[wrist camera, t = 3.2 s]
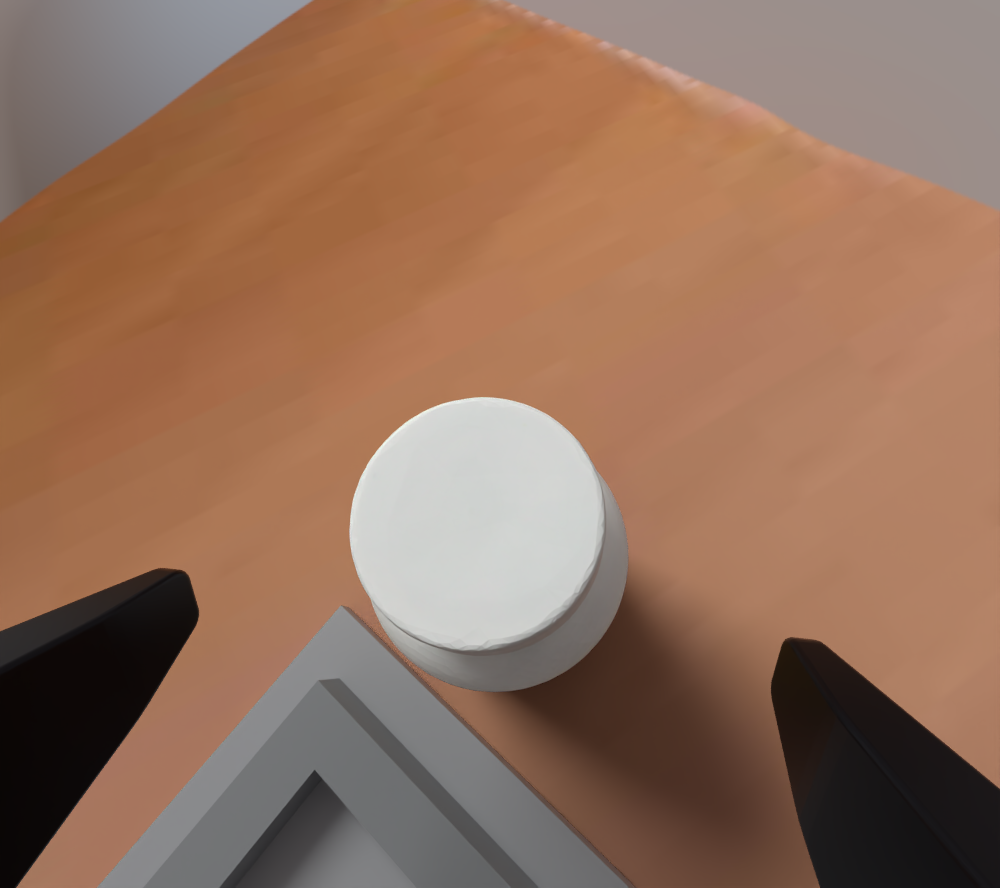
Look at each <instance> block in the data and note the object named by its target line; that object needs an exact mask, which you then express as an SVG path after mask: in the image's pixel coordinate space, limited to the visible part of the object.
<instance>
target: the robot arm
mask: <svg viewBox="0 0 1000 888" xmlns="http://www.w3.org/2000/svg"><path fill="white" fill-rule="evenodd" d="M198 618H199V608H198V605H197V601H196V598H195V595H194V591H193V588H192V584H191V581H190V578H189V576H188V574H187V573H186V572H184V571H182V570H177V569H168V568H158V569H155V570H152V571H149V572H147V573H144V574H142V575H139V576H137V577H135V578H132V579H130V580H127V581H125V582H122V583H120V584H117V585H115V586H112V587H110V588H107V589H105V590H102V591H100V592H97V593H95V594H92V595H90V596H87V597H85V598H82V599H80V600H77V601H75V602H72V603H70V604H67V605H65V606H62V607H60V608H57V609H55V610H52V611H50V612H47V613H45V614H42V615H40V616H37V617H35V618H32V619H30V620H28V621H25V622H23V623H20V624H18V625H15V626H13V627H10V628H8V629H5V630H3V631H0V888H16V887H17V886H18V884H19V883H20V882H21V880H22V879H23V877H24V876H25V875H26V873H27V872H28V871H29V869H30V868H31V867H32V865H33V864H34V862H35V861H36V860H37V858H38V857H39V856H40V854H41V853H42V851H43V850H44V849H45V847H46V846H47V845H48V843H49V842H50V840H51V839H52V838H53V836H54V835H55V834H56V832H57V831H58V829H59V828H60V827H61V825H62V824H63V823H64V821H65V820H66V818H67V817H68V816H69V814H70V813H71V812H72V810H73V809H74V807H75V806H76V805H77V803H78V802H79V801H80V799H81V798H82V797H83V795H84V794H85V792H86V791H87V790H88V788H89V787H90V786H91V784H92V783H93V781H94V780H95V779H96V777H97V776H98V775H99V773H100V772H101V770H102V769H103V768H104V766H105V765H106V764H107V762H108V761H109V759H110V758H111V757H112V755H113V754H114V753H115V751H116V750H117V748H118V747H119V746H120V744H121V743H122V742H123V740H124V739H125V738H126V736H127V735H128V733H129V732H130V731H131V729H132V728H133V726H134V725H135V723H136V722H137V721H138V719H139V718H140V716H141V715H142V713H143V712H144V710H145V708H146V707H147V705H148V704H149V702H150V701H151V699H152V697H153V696H154V694H155V692H156V691H157V689H158V687H159V686H160V684H161V682H162V681H163V679H164V678H165V676H166V674H167V673H168V671H169V669H170V668H171V666H172V664H173V663H174V661H175V659H176V658H177V656H178V655H179V653H180V651H181V650H182V648H183V646H184V645H185V643H186V641H187V640H188V638H189V636H190V635H191V633H192V631H193V630H194V628H195V626H196V624H197V621H198ZM771 696H772V702H773V707H774V711H775V716H776V720H777V725H778V730H779V734H780V739H781V743H782V748H783V752H784V757H785V762H786V766H787V771H788V775H789V780H790V785H791V789H792V794H793V798H794V802H795V807H796V811H797V815H798V819H799V822H800V826H801V829H802V832H803V836H804V839H805V842H806V845H807V849H808V852H809V855H810V858H811V861H812V864H813V867H814V870H815V873H816V876H817V879H818V882H819V885H820V888H1000V789H999V788H998V787H997V786H996V785H994V784H993V783H992V782H991V781H990V780H988V779H987V778H986V777H985V776H984V775H982V774H981V773H980V772H979V771H977V770H976V769H975V768H974V767H973V766H971V765H970V764H969V763H968V762H967V761H965V760H964V759H963V758H962V757H961V756H959V755H958V754H957V753H956V752H954V751H953V750H952V749H951V748H950V747H948V746H947V745H946V744H945V743H944V742H942V741H941V740H940V739H939V738H937V737H936V736H935V735H934V734H933V733H931V732H930V731H929V730H928V729H927V728H925V727H924V726H923V725H922V724H921V723H919V722H918V721H917V720H916V719H914V718H913V717H912V716H911V715H910V714H908V713H907V712H906V711H905V710H904V709H902V708H901V707H900V706H899V705H897V704H896V703H895V702H894V701H893V700H891V699H890V698H889V697H888V696H887V695H885V694H884V693H883V692H882V691H881V690H879V689H878V688H877V687H876V686H874V685H873V684H872V683H871V682H870V681H868V680H867V679H866V678H865V677H864V676H862V675H861V674H860V673H859V672H857V671H856V670H855V669H854V668H853V667H851V666H850V665H849V664H848V663H847V662H845V661H844V660H843V659H842V658H841V657H839V656H838V655H837V654H836V653H834V652H833V651H832V650H831V649H830V648H828V647H827V646H826V645H825V644H823V643H822V642H820V641H817V640H812V639H803V638H794V637H790V638H787V639H785V641H784V642H783V644H782V646H781V650H780V653H779V657H778V660H777V664H776V667H775V671H774V674H773V678H772V682H771Z"/></svg>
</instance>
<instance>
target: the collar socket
mask: <svg viewBox="0 0 1000 888" xmlns="http://www.w3.org/2000/svg"><path fill="white" fill-rule="evenodd" d="M97 888H636V887H635V886H634V885H633V884H632V883H631V882H630V881H629V880H628V879H627V878H626V877H625V876H624V875H622V874H621V873H620V872H619V871H618V870H617V869H616V868H615V867H614V866H613V865H612V864H611V863H610V862H609V861H608V860H607V859H606V858H605V857H604V856H603V855H602V854H601V853H600V852H599V851H598V850H597V849H596V848H595V847H594V846H593V845H592V844H591V843H590V842H589V841H588V840H587V839H586V838H585V837H584V836H583V835H581V834H580V833H579V832H578V831H577V830H576V829H575V828H574V827H573V826H572V825H571V824H570V823H569V822H568V821H567V820H566V819H565V818H564V817H563V816H562V815H561V814H560V813H559V812H558V811H557V810H556V809H555V808H554V807H553V806H552V805H551V804H550V803H549V802H548V801H547V800H546V799H545V798H544V797H543V796H541V795H540V794H539V793H538V792H537V791H536V790H535V789H534V788H533V787H532V786H531V785H530V784H529V783H528V782H527V781H526V780H525V779H524V778H523V777H522V776H521V775H520V774H519V773H518V772H517V771H516V770H515V769H514V768H513V767H512V766H511V765H510V764H509V763H508V762H507V761H506V760H505V759H504V758H503V757H501V756H500V755H499V754H498V753H497V752H496V751H495V750H494V749H493V748H492V747H491V746H490V745H489V744H488V743H487V742H486V741H485V740H484V739H483V738H482V737H481V736H480V735H479V734H478V733H477V732H476V731H475V730H474V729H473V728H472V727H471V726H470V725H469V724H468V723H467V722H466V721H465V720H464V719H463V718H462V717H460V716H459V715H458V714H457V713H456V712H455V711H454V710H453V709H452V708H451V707H450V706H449V705H448V704H447V703H446V702H445V701H444V700H443V699H442V698H441V697H440V696H439V695H438V694H437V693H436V692H435V691H434V690H433V689H432V688H431V687H430V686H429V685H428V684H427V683H426V682H425V681H424V680H423V679H422V678H420V677H419V676H418V675H417V674H416V673H415V672H414V671H413V670H412V669H411V668H410V667H409V666H408V665H407V664H406V663H405V662H404V661H403V660H402V659H401V658H400V657H399V656H398V655H397V654H396V653H395V652H394V651H393V650H392V649H391V648H390V647H389V646H388V645H387V644H386V643H385V642H384V641H383V640H382V639H381V638H379V637H378V636H377V635H376V634H375V633H374V632H373V631H372V630H371V629H370V628H369V627H368V626H367V625H366V624H365V623H364V622H363V621H362V620H361V619H360V618H359V617H358V616H357V615H356V614H355V613H354V612H353V611H352V610H351V609H350V608H349V607H346V606H342V605H341V606H340V607H339V608H338V610H337V611H336V612H335V613H334V614H333V615H332V616H331V618H330V619H329V620H328V621H327V622H326V623H325V625H324V626H323V627H322V628H321V629H320V630H319V632H318V633H317V634H316V635H315V636H314V637H313V638H312V640H311V641H310V642H309V643H308V644H307V645H306V647H305V648H304V649H303V650H302V651H301V652H300V653H299V655H298V656H297V657H296V658H295V659H294V660H293V662H292V663H291V664H290V665H289V666H288V667H287V669H286V670H285V671H284V672H283V673H282V674H281V675H280V677H279V678H278V679H277V680H276V681H275V682H274V684H273V685H272V686H271V687H270V688H269V689H268V690H267V692H266V693H265V694H264V695H263V696H262V697H261V699H260V700H259V701H258V702H257V703H256V704H255V706H254V707H253V708H252V709H251V710H250V711H249V712H248V714H247V715H246V716H245V717H244V718H243V719H242V721H241V722H240V723H239V724H238V725H237V726H236V728H235V729H234V730H233V731H232V732H231V733H230V734H229V736H228V737H227V738H226V739H225V740H224V741H223V743H222V744H221V745H220V746H219V747H218V748H217V749H216V751H215V752H214V753H213V754H212V755H211V756H210V758H209V759H208V760H207V761H206V762H205V763H204V765H203V766H202V767H201V768H200V769H199V770H198V771H197V773H196V774H195V775H194V776H193V777H192V778H191V780H190V781H189V782H188V783H187V784H186V785H185V786H184V788H183V789H182V790H181V791H180V792H179V793H178V795H177V796H176V797H175V798H174V799H173V800H172V802H171V803H170V804H169V805H168V806H167V807H166V808H165V810H164V811H163V812H162V813H161V814H160V815H159V817H158V818H157V819H156V820H155V821H154V822H153V824H152V825H151V826H150V827H149V828H148V829H147V830H146V832H145V833H144V834H143V835H142V836H141V837H140V839H139V840H138V841H137V842H136V843H135V844H134V845H133V847H132V848H131V849H130V850H129V851H128V852H127V854H126V855H125V856H124V857H123V858H122V859H121V861H120V862H119V863H118V864H117V865H116V866H115V867H114V869H113V870H112V871H111V872H110V873H109V874H108V876H107V877H106V878H105V879H104V880H103V881H102V882H101V884H100V885H99V886H98V887H97Z"/></svg>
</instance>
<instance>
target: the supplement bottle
mask: <svg viewBox="0 0 1000 888" xmlns="http://www.w3.org/2000/svg"><path fill="white" fill-rule="evenodd" d="M349 531H350V545H351V552H352V557H353V561H354V564H355V567H356V571H357V574H358V576H359V579H360V581H361V583H362V585H363V588H364V589H365V591H366V592H367V594H368V596H369V597H370V599H371V601H372V605H373V608H374V610H375V612H376V615H377V617H378V619H379V621H380V623H381V625H382V627H383V629H384V630H385V632H386V633H387V635H388V636H389V638H390V639H391V641H392V642H393V643H394V644H395V646H396V647H397V648H398V649H399V650H400V651H401V652H402V653H403V654H404V655H405V656H406V657H407V658H408V659H409V660H410V661H411V662H413V663H414V664H415V665H416V666H418V667H419V668H421V669H422V670H423V671H425V672H426V673H428V674H429V675H431V676H433V677H435V678H437V679H439V680H442V681H444V682H446V683H448V684H451V685H454V686H458V687H461V688H465V689H469V690H474V691H486V692H504V691H514V690H520V689H525V688H529V687H532V686H535V685H538V684H541V683H544V682H546V681H549V680H551V679H553V678H555V677H556V676H558V675H560V674H562V673H564V672H566V671H567V670H569V669H570V668H571V667H573V666H574V665H575V664H577V663H578V662H579V661H580V660H582V659H583V658H584V657H585V656H586V655H587V654H588V653H589V652H590V651H591V650H592V649H593V648H594V646H595V645H596V644H597V643H598V642H599V641H600V639H601V638H602V636H603V635H604V634H605V632H606V631H607V629H608V628H609V626H610V624H611V623H612V621H613V619H614V617H615V615H616V613H617V610H618V608H619V605H620V602H621V599H622V596H623V593H624V589H625V585H626V579H627V572H628V543H627V535H626V530H625V525H624V522H623V518H622V515H621V512H620V509H619V506H618V504H617V502H616V500H615V498H614V496H613V494H612V492H611V490H610V488H609V487H608V485H607V484H606V482H605V481H604V479H603V478H602V477H601V475H600V474H599V473H598V472H597V471H596V469H595V467H594V465H593V463H592V461H591V459H590V458H589V456H588V454H587V453H586V451H585V450H584V448H583V447H582V446H581V444H580V443H579V442H578V440H577V439H576V438H575V437H574V436H573V435H572V434H571V433H570V432H569V431H568V430H567V429H566V428H565V427H563V426H562V425H561V424H560V423H558V422H557V421H556V420H555V419H553V418H552V417H550V416H549V415H547V414H545V413H543V412H541V411H539V410H537V409H535V408H533V407H530V406H528V405H525V404H522V403H518V402H515V401H511V400H506V399H499V398H487V397H477V398H468V399H462V400H457V401H452V402H447V403H444V404H440V405H438V406H435V407H433V408H430V409H428V410H426V411H424V412H422V413H420V414H419V415H417V416H415V417H413V418H412V419H410V420H409V421H407V422H406V423H405V424H403V425H402V426H401V427H400V428H399V429H397V430H396V431H395V432H394V433H393V434H392V435H391V436H390V437H389V438H388V439H387V440H386V441H385V442H384V443H383V444H382V446H381V447H380V448H379V449H378V450H377V452H376V453H375V454H374V456H373V457H372V459H371V460H370V462H369V463H368V465H367V467H366V469H365V470H364V472H363V474H362V477H361V479H360V481H359V484H358V487H357V489H356V492H355V495H354V499H353V504H352V509H351V519H350V530H349Z"/></svg>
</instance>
